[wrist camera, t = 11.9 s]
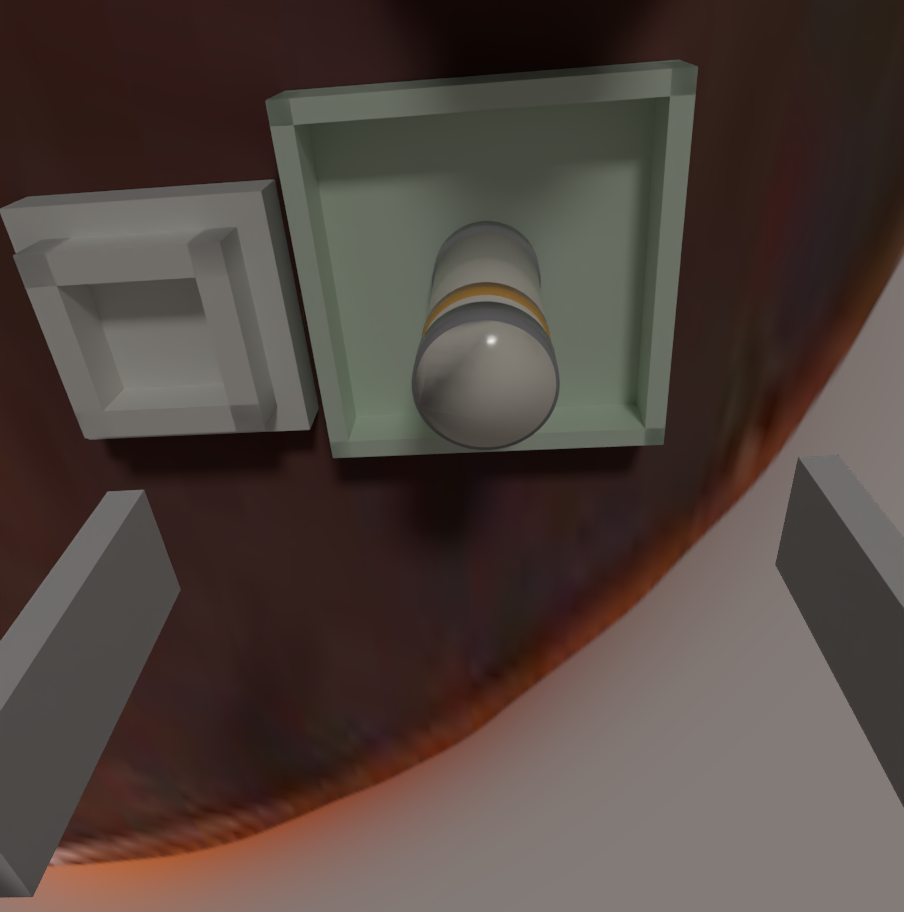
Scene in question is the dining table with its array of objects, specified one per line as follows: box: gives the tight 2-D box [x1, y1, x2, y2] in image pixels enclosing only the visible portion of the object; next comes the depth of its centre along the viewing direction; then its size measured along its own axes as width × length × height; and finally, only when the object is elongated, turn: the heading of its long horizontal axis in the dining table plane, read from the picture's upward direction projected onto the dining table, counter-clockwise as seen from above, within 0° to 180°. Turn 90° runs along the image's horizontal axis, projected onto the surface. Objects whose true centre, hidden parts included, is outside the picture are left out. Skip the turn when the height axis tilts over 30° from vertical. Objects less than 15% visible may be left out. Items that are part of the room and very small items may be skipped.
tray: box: [265, 60, 698, 458], centre depth 29 cm, size 14×14×3 cm
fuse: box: [411, 221, 560, 450], centre depth 25 cm, size 4×4×10 cm
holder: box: [0, 179, 319, 440], centre depth 30 cm, size 10×10×4 cm
